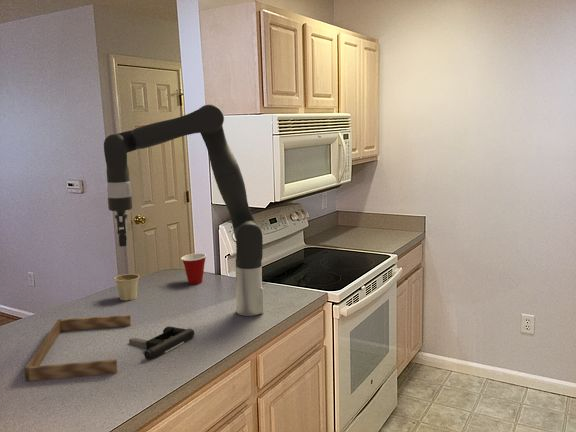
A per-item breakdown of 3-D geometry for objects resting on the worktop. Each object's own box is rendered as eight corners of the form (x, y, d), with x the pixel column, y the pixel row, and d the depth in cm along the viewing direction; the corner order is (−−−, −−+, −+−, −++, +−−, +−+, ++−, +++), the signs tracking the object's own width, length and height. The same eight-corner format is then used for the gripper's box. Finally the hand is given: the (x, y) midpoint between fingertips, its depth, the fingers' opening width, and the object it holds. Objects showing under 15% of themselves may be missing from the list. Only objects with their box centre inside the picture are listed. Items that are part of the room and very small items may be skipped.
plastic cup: (181, 280, 225) (180, 253, 223) (206, 278, 228) (205, 252, 226) (182, 287, 215) (181, 259, 213) (208, 285, 217) (207, 257, 215)
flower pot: (118, 294, 205) (117, 274, 204) (142, 294, 206) (141, 273, 204) (113, 302, 196) (111, 280, 194) (138, 301, 197) (136, 280, 195)
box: (130, 324, 174) (130, 314, 173) (116, 373, 139) (115, 360, 138) (58, 329, 169) (58, 319, 169) (25, 381, 134) (24, 368, 134)
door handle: (113, 343, 153) (153, 351, 145) (160, 322, 170) (198, 328, 162) (114, 354, 153) (154, 362, 145) (161, 331, 171) (199, 338, 163)
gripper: (131, 197, 162) (135, 247, 165) (131, 192, 176) (134, 238, 178) (106, 198, 160) (110, 249, 163) (108, 193, 173) (112, 240, 176)
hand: (123, 243), depth 171 cm, fingers open, 8 cm apart
